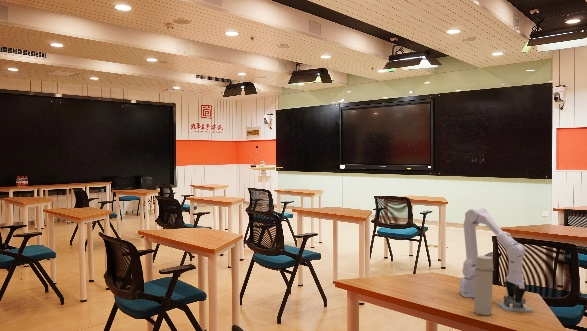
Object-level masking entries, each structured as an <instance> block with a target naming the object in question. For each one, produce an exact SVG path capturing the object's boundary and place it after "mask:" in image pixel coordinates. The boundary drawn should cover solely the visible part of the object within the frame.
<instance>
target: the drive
mask: <svg viewBox="0 0 587 331" xmlns="http://www.w3.org/2000/svg"><path fill="white" fill-rule="evenodd" d="M503 299H504V305H505V306H507V307H510V303H511V304H513V306H512V307H515V308H523V304H526V302H527V300H526V298H525V297H523V298H522V301H521V303H516V301H515V296H507V295H503ZM526 305H527V304H526Z"/></svg>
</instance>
